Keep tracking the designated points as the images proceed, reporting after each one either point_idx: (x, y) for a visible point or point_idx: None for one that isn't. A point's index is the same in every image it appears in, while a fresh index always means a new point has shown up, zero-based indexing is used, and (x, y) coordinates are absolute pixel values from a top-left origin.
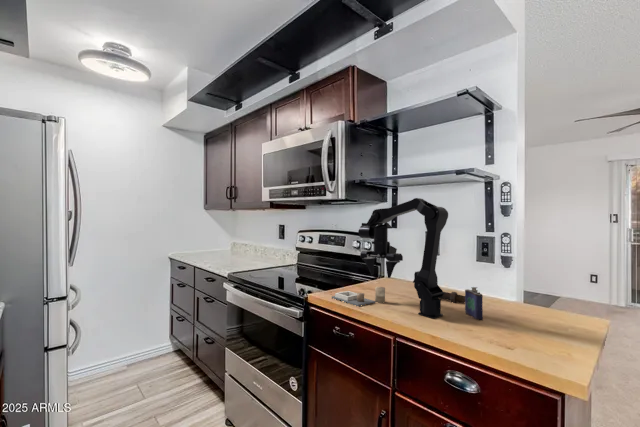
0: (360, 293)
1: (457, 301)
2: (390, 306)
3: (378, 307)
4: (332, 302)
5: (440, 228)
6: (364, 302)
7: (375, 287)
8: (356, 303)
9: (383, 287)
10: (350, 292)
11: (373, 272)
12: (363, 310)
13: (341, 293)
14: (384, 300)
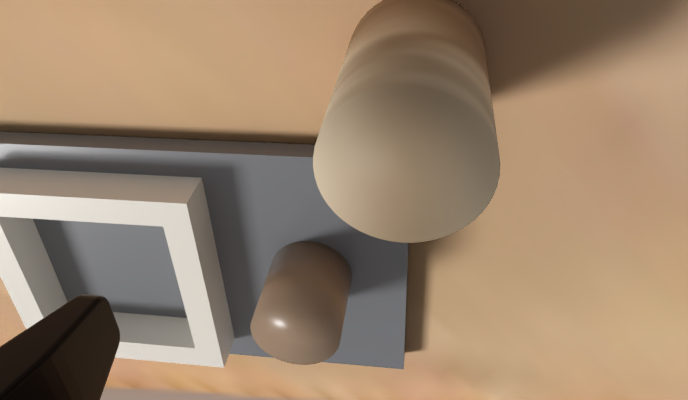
0: (286, 330)
1: None
2: (648, 119)
3: (558, 249)
4: (181, 390)
5: None
6: (382, 285)
7: (342, 217)
8: (363, 353)
9: (427, 103)
10: (34, 215)
11: (75, 339)
12: (515, 391)
13: (40, 296)
14: (485, 54)
